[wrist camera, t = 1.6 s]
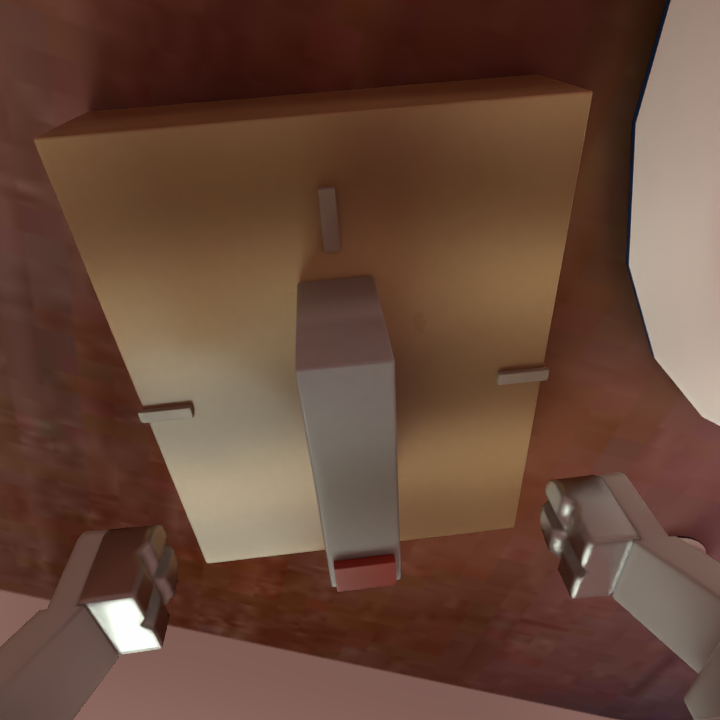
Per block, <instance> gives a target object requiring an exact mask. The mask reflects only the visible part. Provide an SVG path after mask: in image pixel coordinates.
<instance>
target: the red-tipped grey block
mask: <svg viewBox="0 0 720 720" xmlns="http://www.w3.org/2000/svg"><path fill="white" fill-rule="evenodd" d="M295 374H296V380H297V386H298V391H299V397H300V403H301V409H302V415H303V421H304V427H305V432H306V438H307V444H308V450H309V456H310V462H311V468H312V473H313V479H314V485H315V491H316V497H317V503H318V509H319V514H320V520H321V526H322V532H323V538H324V544H325V549H326V555H327V561H328V567H329V573H330V579H331V585H332V586H333V587H337V591H338V592H341V591H349V590H357V589H365V588H374V587H382V586H390V585H396V584H397V582H396V580H398V579H400V578H401V564H400V529H399V494H398V458H397V423H396V388H395V360H394V356H393V352H392V348H391V344H390V340H389V336H388V332H387V328H386V324H385V320H384V316H383V312H382V308H381V304H380V301H379V297H378V293H377V289H376V285H375V281H374V278H373V276H363V277H352V278H342V279H332V280H322V281H311V282H301V283H298V284H297V311H296V350H295Z"/></svg>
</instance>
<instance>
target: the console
mask: <svg viewBox="0 0 720 720" xmlns="http://www.w3.org/2000/svg"><path fill="white" fill-rule="evenodd" d="M592 94H593V93H592V91H590V90H587V89H584V88H580V87H577V86H574V85H571V84H567V83H564V82H561V81H557V80H554V79H551V78H547V77H544V76H541V75H537V74H532V75H520V76H509V77H497V78H485V79H473V80H461V81H449V82H437V83H425V84H413V85H401V86H389V87H377V88H365V89H353V90H341V91H329V92H317V93H305V94H293V95H281V96H269V97H257V98H246V99H234V100H222V101H210V102H198V103H186V104H174V105H162V106H150V107H138V108H126V109H114V110H102V111H90V112H86V113H84V114H82V115H80V116H78V117H76V118H74V119H72V120H70V121H68V122H66V123H64V124H62V125H60V126H58V127H56V128H54V129H52V130H50V131H48V132H46V133H44V134H42V135H40V136H38V137H36V138H35V139H34V142H35V145H36V147H37V150H38V152H39V155H40V157H41V160H42V162H43V164H44V167H45V169H46V172H47V174H48V177H49V179H50V182H51V184H52V187H53V189H54V191H55V194H56V196H57V199H58V201H59V204H60V206H61V209H62V211H63V213H64V216H65V218H66V221H67V223H68V226H69V228H70V231H71V233H72V235H73V238H74V240H75V243H76V245H77V248H78V250H79V253H80V255H81V257H82V260H83V262H84V265H85V267H86V270H87V272H88V275H89V277H90V279H91V282H92V284H93V287H94V289H95V292H96V294H97V297H98V299H99V301H100V304H101V306H102V309H103V311H104V314H105V316H106V319H107V321H108V324H109V326H110V328H111V331H112V333H113V336H114V338H115V341H116V343H117V346H118V348H119V350H120V353H121V355H122V358H123V360H124V363H125V365H126V368H127V370H128V372H129V375H130V377H131V380H132V382H133V385H134V387H135V390H136V392H137V394H138V397H139V399H140V402H141V404H142V407H143V409H142V410H139V411H138V416H139V418H140V421H141V423H148V422H149V424H150V426H151V429H152V431H153V434H154V436H155V438H156V441H157V443H158V446H159V448H160V451H161V453H162V456H163V458H164V461H165V463H166V465H167V468H168V470H169V473H170V475H171V478H172V480H173V483H174V485H175V487H176V490H177V492H178V495H179V497H180V500H181V502H182V505H183V507H184V509H185V512H186V514H187V517H188V519H189V522H190V524H191V527H192V529H193V531H194V534H195V536H196V539H197V541H198V544H199V546H200V549H201V551H202V553H203V556H204V558H205V561H206V563H215V562H224V561H232V560H241V559H249V558H258V557H266V556H275V555H283V554H292V553H301V552H309V551H318V550H326V549H325V544H324V538H323V532H322V526H321V520H320V514H319V509H318V503H317V497H316V491H315V485H314V479H313V473H312V468H311V462H310V456H309V450H308V444H307V438H306V432H305V427H304V421H303V415H302V409H301V403H300V397H299V391H298V386H297V380H296V374H295V350H296V311H297V284H298V283H301V282H311V281H322V280H332V279H342V278H352V277H363V276H373V278H374V281H375V285H376V289H377V293H378V297H379V301H380V304H381V308H382V312H383V316H384V320H385V324H386V328H387V332H388V336H389V340H390V344H391V348H392V352H393V356H394V360H395V388H396V423H397V458H398V494H399V529H400V541H403V540H411V539H420V538H429V537H437V536H446V535H454V534H463V533H471V532H480V531H488V530H497V529H505V528H513V527H514V524H515V519H516V513H517V508H518V502H519V497H520V491H521V486H522V480H523V475H524V469H525V464H526V458H527V453H528V447H529V442H530V436H531V430H532V425H533V419H534V414H535V408H536V403H537V397H538V392H539V386H540V381H542V380H548V375H549V369H548V367H543V364H544V359H545V353H546V348H547V342H548V337H549V331H550V326H551V320H552V315H553V309H554V304H555V298H556V293H557V287H558V282H559V276H560V270H561V265H562V259H563V254H564V248H565V243H566V237H567V232H568V226H569V221H570V215H571V210H572V204H573V199H574V193H575V188H576V182H577V177H578V171H579V166H580V160H581V155H582V149H583V144H584V138H585V133H586V127H587V122H588V116H589V110H590V105H591V99H592Z"/></svg>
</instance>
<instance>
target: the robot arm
mask: <svg viewBox="0 0 720 720" xmlns="http://www.w3.org/2000/svg"><path fill="white" fill-rule="evenodd" d="M545 493H546V495H547V497H548V499H549V500H548V501H547V502H546V503H545V504H544V505H543V506H542V510H541V516H540V518H541V528H542V532H543V535H544V539H545V541H546V544H547V546H548V548H549V550H550V551H551V552H553V553H554V554H555V555H557V556H558V557H559V558H561V559H560V563H559V567H558V570H559V573H560V575H561V577H562V579H563V581H564V583H565V586H566V588H567V590H568V592H569V594H570V596H571V599H574V598H585V597H596V596H607V595H613V598H614V599H615V600H616V601H617V602H618V603H619V604H621V605H622V606H623V607H624V608H625V609H626V610H627V611H628V612H630V613H631V614H632V615H633V616H634V617H635V618H636V619H637V620H639V621H640V622H641V623H642V624H643V625H644V626H645V627H646V628H648V629H649V630H650V631H651V632H652V633H653V634H654V635H655V636H656V637H658V638H659V639H660V640H661V641H662V642H663V643H664V644H665V645H667V646H668V647H669V648H670V649H671V650H672V651H673V652H674V653H676V654H677V655H678V656H679V657H680V658H681V659H682V660H683V661H685V662H686V663H687V664H688V665H689V666H690V667H691V668H692V669H694V670H695V671H696V672H697V673H698V675H697V677H696V678H695V680H694V681H693V683H692V684H691V686H690V687H689V688H688V690H687V691H686V694H685V697H684V699H683V700H684V702H685V704H686V705H687V707H688V709H689V711H690V713H691V715H692V717H693V718H694V720H720V563H719V562H717V561H716V560H714V559H713V558H711V557H709V556H708V555H706V554H704V553H703V552H701V551H700V550H698V549H696V548H695V547H693V546H691V545H690V544H688V543H687V542H685V541H683V540H682V539H680V538H678V537H677V536H668V535H667V533H666V532H665V531H664V529H663V528H662V526H661V525H660V523H659V522H658V521H657V519H656V518H655V516H654V515H653V513H652V512H651V511H650V509H649V508H648V506H647V505H646V503H645V502H644V501H643V499H642V498H641V496H640V495H639V494H638V492H637V491H636V489H635V488H634V486H633V485H632V484H631V482H630V481H629V479H628V478H627V476H626V475H624V474H623V473H621V472H618V473H609V474H600V475H588V476H580V477H572V478H564V479H556V480H550V481H549V482H548V484H547V486H546V491H545ZM166 536H167V534H166V533H165V531H164V529H163V527H162V525H155V526H143V527H132V528H120V529H109V530H99V531H89V532H84V533H83V534H82V535H81V536H80V537H79V538H78V540H77V542H76V544H75V546H74V549H73V551H72V553H71V556H70V558H69V560H68V562H67V565H66V567H65V569H64V572H63V574H62V576H61V578H60V581H59V583H58V585H57V588H56V590H55V592H54V594H53V597H52V599H51V601H50V604H49V606H48V609H46V610H40V611H38V612H37V613H36V614H35V615H34V616H33V617H32V618H31V619H30V620H29V621H28V622H27V623H25V624H24V625H23V626H22V627H21V628H20V629H19V630H18V631H17V632H16V633H15V634H14V635H13V636H12V637H11V638H9V639H8V640H7V641H6V642H5V643H4V644H3V645H2V646H1V647H0V720H73V719H74V718H75V716H76V715H77V714H78V712H79V711H80V709H81V708H82V707H83V705H84V704H85V703H86V701H87V700H88V699H89V697H90V696H91V695H92V693H93V692H94V691H95V689H96V688H97V686H98V685H99V684H100V683H101V681H102V680H103V679H104V677H105V676H106V675H107V673H108V672H109V670H110V669H111V668H112V666H113V665H114V664H115V662H116V661H117V660H118V658H119V656H118V655H121V654H127V653H134V652H140V651H147V650H154V649H160V648H162V646H163V642H164V637H165V633H166V629H167V625H168V621H169V616H170V615H169V613H168V611H167V609H166V607H165V604H166V603H167V602H168V601H169V600H170V599H171V597H172V596H173V595H174V594H175V589H176V584H177V574H178V564H177V559H176V555H175V552H174V550H173V548H171V547H170V546H168V545H166V544H165V540H166Z"/></svg>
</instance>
